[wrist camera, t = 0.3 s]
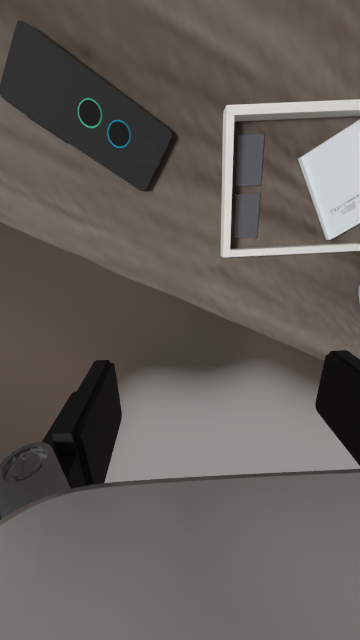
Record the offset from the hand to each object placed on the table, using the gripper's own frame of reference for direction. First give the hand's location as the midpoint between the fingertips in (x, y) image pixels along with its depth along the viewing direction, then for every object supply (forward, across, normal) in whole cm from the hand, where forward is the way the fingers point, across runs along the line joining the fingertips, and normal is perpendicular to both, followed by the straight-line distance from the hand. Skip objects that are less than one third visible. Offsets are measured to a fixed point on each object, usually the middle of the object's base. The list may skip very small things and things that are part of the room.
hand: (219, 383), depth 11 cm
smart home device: (+30, +12, -20) cm, 38 cm away
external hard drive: (+30, -22, -12) cm, 39 cm away
